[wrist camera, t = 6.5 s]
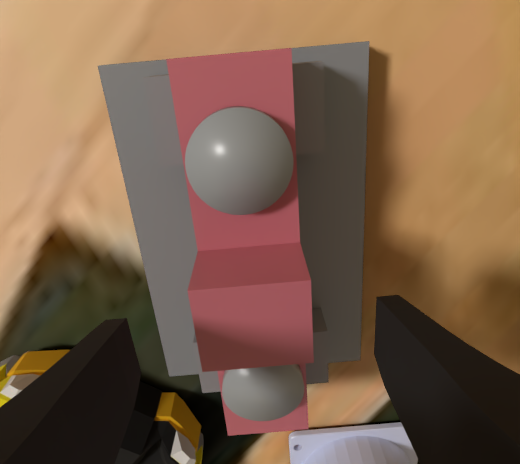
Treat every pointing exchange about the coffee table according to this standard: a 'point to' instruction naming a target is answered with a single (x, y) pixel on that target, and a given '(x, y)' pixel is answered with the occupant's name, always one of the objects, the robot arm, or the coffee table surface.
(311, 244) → the display stand
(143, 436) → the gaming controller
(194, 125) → the frame bar
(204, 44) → the coffee table surface
